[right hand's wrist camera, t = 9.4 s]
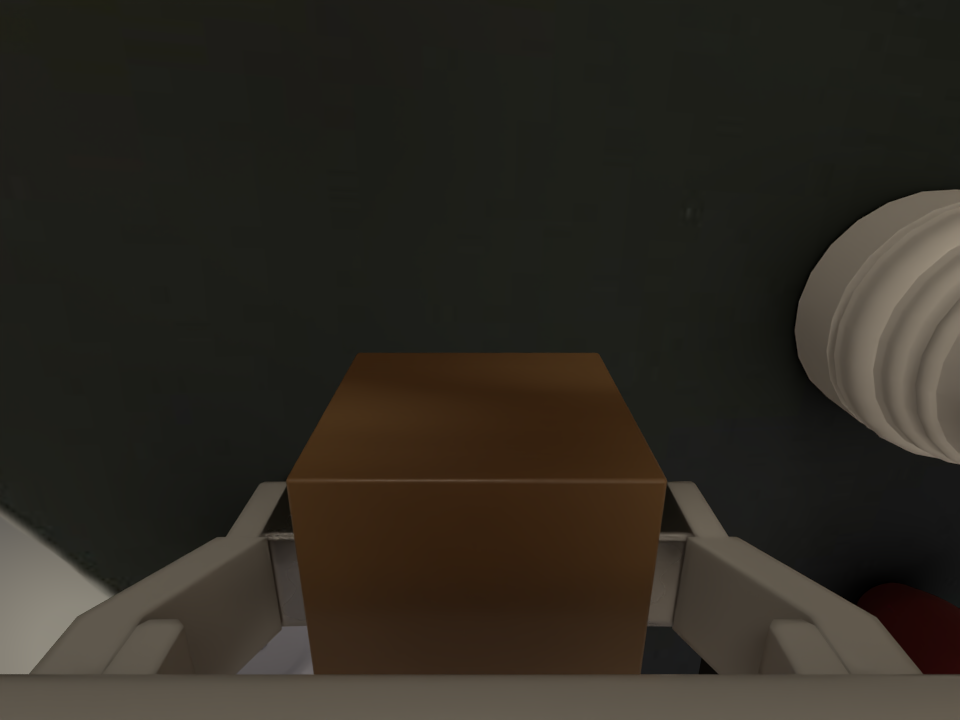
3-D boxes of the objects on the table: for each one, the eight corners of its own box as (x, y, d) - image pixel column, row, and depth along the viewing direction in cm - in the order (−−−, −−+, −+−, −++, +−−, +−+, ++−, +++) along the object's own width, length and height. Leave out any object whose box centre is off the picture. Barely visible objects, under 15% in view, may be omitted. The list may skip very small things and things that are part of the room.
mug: (950, 516, 37) (1109, 645, 28) (999, 592, 39) (1161, 734, 30) (803, 598, 39) (903, 741, 30) (857, 665, 42) (965, 817, 32)
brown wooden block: (374, 560, 13) (324, 759, 9) (356, 351, 11) (283, 480, 7) (582, 560, 13) (629, 760, 9) (599, 352, 11) (669, 479, 7)
